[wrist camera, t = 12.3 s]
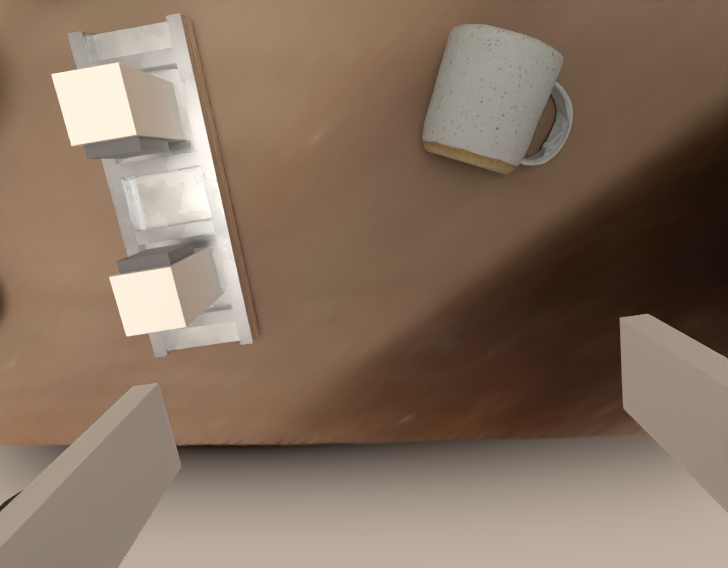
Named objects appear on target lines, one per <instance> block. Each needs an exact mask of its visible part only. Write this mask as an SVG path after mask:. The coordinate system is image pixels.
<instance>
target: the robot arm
mask: <svg viewBox="0 0 728 568" xmlns="http://www.w3.org/2000/svg"><path fill="white" fill-rule="evenodd" d="M620 337H621V363H622V389H623V409H624V410H625V411H626V412H627V413H628V414H629V415H630V416H631V417H632V418H633V419H634V420H635V421H636V422H637V423H638V424H639V425H640V426H641V427H642V428H643V429H644V430H645V431H646V432H647V433H648V434H649V435H650V436H652V438H654V440H656V442H658V443H659V444H660V445H661V446H662V447H663V448H664V449H665V450H666V451H667V452H668V453H669V454H670V455H671V456H672V457H673V458H674V459H675V460H676V461H677V462H678V463H679V464H680V465H681V466H682V467H683V468H684V469H685V470H686V471H687V472H688V473H689V474H690V475H691V476H692V477H693V478H694V479H695V480H696V481H697V482H698V483H699V484H700V485H701V486H702V487H703V488H704V489H705V490H706V491H707V492H708V493H709V494H710V495H711V496H712V497H713V498H714V499H715V500H716V501H717V502H718V503H719V504H720V505H721V506H722V507H723V508H724V509H725V510H726V511H727V512H728V359H727V358H726V357H724V356H722V355H720V354H719V353H717V352H715V351H713V350H711V349H710V348H708V347H706V346H704V345H703V344H701V343H699V342H697V341H695V340H694V339H692V338H690V337H688V336H687V335H685V334H683V333H681V332H679V331H678V330H676V329H674V328H672V327H671V326H669V325H667V324H665V323H663V322H662V321H660V320H658V319H656V318H655V317H653V316H651V315H649V314H643V315H636V316H629V317H622V318H620ZM180 468H181V463H180V459H179V456H178V452H177V448H176V445H175V441H174V437H173V434H172V430H171V426H170V423H169V419H168V415H167V412H166V408H165V405H164V401H163V397H162V394H161V390H160V386H159V383H153V384H146V385H139V386H133V387H132V388H131V389H130V390H129V391H127V392H126V393H125V394H124V395H123V396H122V397H121V398H120V399H119V400H118V401H117V402H116V403H115V404H114V405H113V406H112V407H111V408H109V409H108V410H107V411H106V412H105V413H104V414H103V415H102V416H101V417H100V418H99V419H98V420H97V421H96V422H95V423H94V424H93V425H92V426H90V427H89V428H88V429H87V430H86V431H85V432H84V433H83V434H82V435H81V436H80V437H79V438H78V439H77V440H76V441H75V442H74V443H72V444H71V445H70V446H69V447H68V448H67V449H66V450H65V451H64V452H63V453H62V454H61V455H60V456H59V457H58V458H57V459H56V460H55V461H53V462H52V463H51V464H50V465H49V466H48V467H47V468H46V469H45V470H44V471H43V472H42V473H41V474H40V475H39V476H38V477H37V478H35V480H33V481H32V482H31V483H30V484H29V485H28V486H27V487H26V488H25V489H24V490H22V491H21V492H19V493H17V494H16V495H14V496H13V497H11V498H10V499H8V500H7V501H5V502H4V503H3V504H2V505H1V506H0V568H118V567H119V565H120V564H121V562H122V561H123V559H124V557H125V556H126V554H127V553H128V551H129V549H130V548H131V546H132V545H133V543H134V541H135V540H136V538H137V536H138V535H139V533H140V532H141V530H142V528H143V527H144V525H145V524H146V522H147V520H148V519H149V517H150V516H151V514H152V512H153V511H154V509H155V508H156V506H157V504H158V503H159V501H160V499H161V498H162V496H163V495H164V493H165V492H166V490H167V488H168V487H169V485H170V484H171V482H172V480H173V479H174V477H175V476H176V474H177V472H178V471H179V469H180Z"/></svg>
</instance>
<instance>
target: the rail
mask: <svg viewBox="0 0 728 568" xmlns="http://www.w3.org/2000/svg"><path fill="white" fill-rule="evenodd" d="M166 19H167V22H162V23H156V24H151V25H145V26H140V27H134V28H129V29H123V30H118V31H112V32H106V33H101V34H95V35H89V34H86V33H84V32H82V31H80V32H74V33H68V34H67V35H68V38H69V42H70V46H71V49H72V53H73V57H74V60H75V64H76V68H77V70H78V69H84V68H89V67H95V66H101V65H106V64H112V63H118V62H119V63H122V64H124V65H127V66H129V67H132V68H135V69H137V70H140V71H143V72H145V73H148V74H150V75H153V76H156V77H158V78H161V79H164V80H166V81H169V82H172V83H173V86H174V91H175V95H176V99H177V104H178V108H179V112H180V117H181V121H182V125H183V130H184V134H185V138H186V140H182V141H176V142H170V143H168V145H169V150H170V151H166V152H160V153H154V154H148V155H142V156H136V157H130V158H124V159H101V160H102V163H103V167H104V171H105V174H106V178H107V182H108V185H109V189H110V193H111V196H112V200H113V204H114V207H115V211H116V215H117V218H118V222H119V226H120V229H121V233H122V237H123V240H124V244H125V248H126V251H127V255H128V257H129V256H131V255H134V254H136V253H139V252H141V251H144V250H146V249H152V248H158V247H164V246H170V245H176V244H182V243H188V242H192V245H193V248H199V247H205V246H211V250H212V254H213V258H214V262H215V266H216V270H217V275H218V279H219V283H220V287H221V291H222V295H221V296H220V297H219V298H218V299H217V300H216V301H215V302H214V303H213V304H211V305H210V306H209V307H208V308H207V309H206V310H205V311H204V312H203V313H201V314H200V315H199V316H198V317H197V318H196V319H195V320H194V321H193V322H191V323H190V324H189V325H188V326H187V327H184V328H177V329H171V330H164V331H158V332H152V333H149V336H150V340H151V343H152V347H153V351H154V354H155V357H160V356H167V355H168V354H169V353H170V352H172V351H173V350H176V349H183V348H190V347H197V346H204V345H211V344H218V343H225V342H232V341H239V340H240V344H241V345H244V344H251V343H254V341H255V339H256V338H257V336H258V335H259V333H260V332H259V327H258V323H257V318H256V314H255V309H254V304H253V300H252V295H251V291H250V286H249V281H248V277H247V272H246V268H245V263H244V258H243V254H242V249H241V245H240V240H239V235H238V231H237V226H236V221H235V217H234V212H233V208H232V203H231V198H230V194H229V189H228V185H227V180H226V175H225V171H224V166H223V162H222V157H221V152H220V148H219V143H218V139H217V134H216V129H215V125H214V120H213V116H212V111H211V106H210V102H209V97H208V93H207V88H206V83H205V79H204V74H203V70H202V65H201V60H200V56H199V51H198V47H197V42H196V37H195V33H194V28H193V23H192V22H191V21H190V20H188V19H187V18H186V17H184V16H183V15H182V14H180V13H179V14H173V15H168V16H166Z"/></svg>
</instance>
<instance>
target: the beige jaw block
mask: <svg viewBox="0 0 728 568" xmlns="http://www.w3.org/2000/svg"><path fill="white" fill-rule="evenodd" d="M116 262H117V265H118V269H119V273H117V274H115V275H112V276H110V277H109V278H110V282H111V285H112V288H113V292H114V295H115V299H116V302H117V306H118V309H119V312H120V316H121V319H122V323H123V326H124V330H125V333H126V336H132V335H139V334H145V333H152V332H158V331H164V330H171V329H177V328H184V327H187V326H188V325H189V324H190V323H191V322H193V321H194V320H195V319H196V318H197V317H198V316H199V315H200V314H201V313H203V312H204V311H205V310H206V309H207V308H208V307H209V306H210V305H211V304H213V303H214V302H215V301H216V300H217V299H218V298H219V297H220V296H221V295H222V291H221V287H220V283H219V279H218V275H217V270H216V266H215V262H214V258H213V254H212V250H211V246H205V247H199V248H193V245H192V242H188V243H182V244H176V245H170V246H164V247H158V248H152V249H146V250H144V251H141V252H139V253H136V254H134V255H131V256H129V257H126V258H124V259H121V260H119V261H116Z"/></svg>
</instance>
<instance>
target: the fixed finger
mask: <svg viewBox="0 0 728 568" xmlns="http://www.w3.org/2000/svg"><path fill="white" fill-rule="evenodd" d="M51 75H52V78H53V82H54V85H55V89H56V92H57V96H58V100H59V103H60V107H61V110H62V114H63V117H64V121H65V124H66V128H67V131H68V135H69V138H70V142H71V145H72V146H84V147H85V151H86V154H87V158H88V159H124V158H130V157H136V156H142V155H148V154H154V153H160V152H166V151H170V150H169V145H168V143H170V142H176V141H182V140H186V138H185V134H184V130H183V125H182V121H181V117H180V112H179V108H178V104H177V99H176V95H175V91H174V86H173V83H172V82H169V81H166V80H164V79H161V78H158V77H156V76H153V75H150V74H148V73H145V72H143V71H140V70H137V69H135V68H132V67H129V66H127V65H124V64H122V63H119V62H118V63H112V64H106V65H101V66H95V67H89V68H84V69H78V70H72V71H67V72H61V73H55V74H51Z"/></svg>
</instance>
